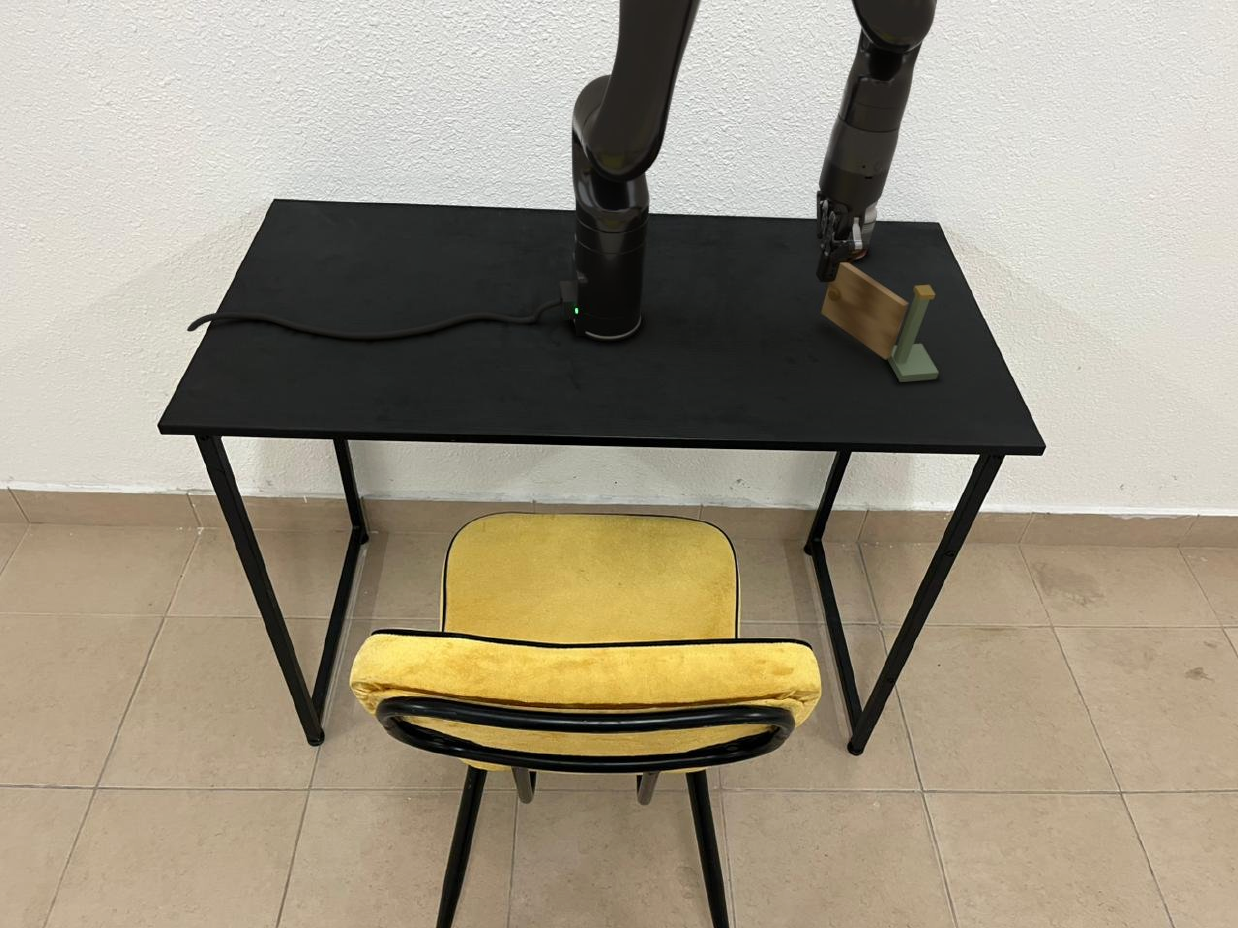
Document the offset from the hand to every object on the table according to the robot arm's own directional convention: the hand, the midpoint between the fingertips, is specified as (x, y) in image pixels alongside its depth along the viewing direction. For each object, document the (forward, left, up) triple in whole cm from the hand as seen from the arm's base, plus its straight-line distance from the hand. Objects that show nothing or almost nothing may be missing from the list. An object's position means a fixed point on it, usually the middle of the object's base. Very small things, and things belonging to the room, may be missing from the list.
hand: (825, 278), depth 118 cm
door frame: (+12, -6, -11) cm, 18 cm away
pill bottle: (+13, +21, -11) cm, 27 cm away
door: (+6, -1, -9) cm, 11 cm away
